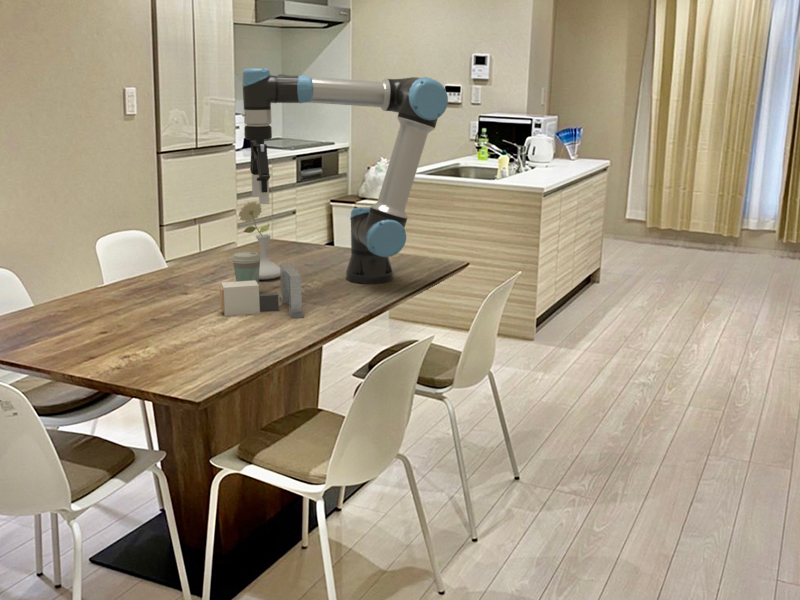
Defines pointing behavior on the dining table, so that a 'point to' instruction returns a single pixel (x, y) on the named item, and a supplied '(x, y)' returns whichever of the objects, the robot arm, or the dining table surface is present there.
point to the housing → (291, 289)
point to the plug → (246, 298)
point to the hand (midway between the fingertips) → (260, 200)
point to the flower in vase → (260, 240)
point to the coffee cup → (246, 266)
